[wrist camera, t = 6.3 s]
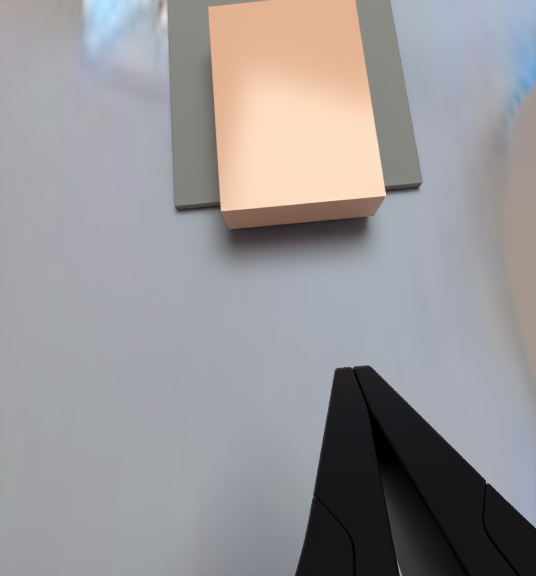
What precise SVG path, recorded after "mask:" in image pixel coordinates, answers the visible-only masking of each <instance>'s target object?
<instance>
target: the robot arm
mask: <svg viewBox="0 0 536 576" xmlns="http://www.w3.org/2000/svg"><path fill="white" fill-rule="evenodd" d="M396 558H397V559H396ZM397 561H398V564H399V567H400V570H401V573H402V576H536V528H535V527H534V526H533V525H532V524H531V523H530V522H528V521H527V520H526V519H525V518H524V517H523V516H522V515H521V514H520V513H519V512H518V511H517V510H516V509H515V508H514V507H513V506H512V505H511V504H510V503H508V502H507V501H506V500H505V499H504V498H503V497H502V496H501V495H500V494H499V493H498V492H497V491H496V490H495V489H494V488H493V487H492V486H491V485H490V484H488V483H487V484H486V480H485V479H484V478H483V477H482V476H481V475H480V474H479V473H478V472H477V471H476V470H475V469H474V468H473V467H472V466H471V465H470V464H469V463H468V462H467V461H466V460H465V459H464V458H463V457H462V456H461V455H460V454H459V453H458V452H457V451H456V450H455V449H454V448H453V447H452V446H451V445H450V444H449V443H448V442H447V441H446V440H445V439H444V438H443V437H442V436H441V435H439V434H438V433H437V432H436V431H435V430H434V429H433V428H432V427H431V426H430V425H429V424H428V423H427V422H426V421H425V420H424V419H423V418H422V417H421V416H420V415H419V414H418V413H417V412H416V411H415V410H414V409H413V408H412V407H411V406H410V405H409V404H408V403H407V402H406V401H405V400H404V399H403V398H402V397H401V396H400V395H399V394H398V393H397V392H396V391H395V390H394V389H393V388H392V387H391V386H390V385H389V384H388V383H387V382H386V381H385V380H384V379H383V378H382V377H381V376H380V375H379V374H378V373H377V372H376V371H375V370H374V369H373V368H372V367H370V366H368V365H366V366H355V367H353V369H352V368H351V367H344V368H337V369H335V373H334V378H333V384H332V390H331V396H330V401H329V407H328V413H327V419H326V424H325V430H324V436H323V442H322V448H321V453H320V459H319V465H318V471H317V476H316V482H315V488H314V494H313V499H312V504H311V510H310V516H309V521H308V525H307V530H306V535H305V540H304V544H303V548H302V552H301V555H300V559H299V563H298V566H297V570H296V573H295V576H400V575H399V570H398V564H397Z"/></svg>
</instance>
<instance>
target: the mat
mask: <svg viewBox="0 0 536 576" xmlns="http://www.w3.org/2000/svg"><path fill="white" fill-rule="evenodd" d="M258 1H267V0H168V20H169V48H170V76H171V104H172V132H173V160H174V188H175V206H176V208H177V209H187V208H198V207H209V206H219V205H221V204H220V188H219V172H218V156H217V140H216V124H215V108H214V92H213V76H212V60H211V44H210V28H209V12H208V7H211V6H220V5H230V4H239V3H248V2H258ZM355 1H356V8H357V14H358V20H359V27H360V33H361V39H362V46H363V52H364V58H365V65H366V71H367V77H368V84H369V90H370V97H371V103H372V109H373V116H374V122H375V128H376V135H377V141H378V147H379V154H380V160H381V166H382V173H383V179H384V186H385V190H389V189H400V188H410V187H419V186H420V185H421V184H422V183H423V182H422V176H421V170H420V165H419V159H418V154H417V148H416V142H415V137H414V131H413V126H412V120H411V115H410V109H409V103H408V98H407V92H406V87H405V81H404V75H403V70H402V64H401V59H400V53H399V47H398V42H397V36H396V31H395V25H394V19H393V14H392V8H391V3H390V0H355Z"/></svg>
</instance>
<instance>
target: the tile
mask: <svg viewBox="0 0 536 576" xmlns="http://www.w3.org/2000/svg"><path fill="white" fill-rule="evenodd" d="M208 12H209V28H210V44H211V60H212V76H213V92H214V108H215V124H216V140H217V156H218V172H219V188H220V204H221V213H222V215H223V218H224V220H225V222H226V225H227V227H228V229H238V228H249V227H259V226H270V225H281V224H292V223H302V222H313V221H324V220H334V219H345V218H356V217H367V216H374V214H375V212H376V211H377V209H378V208H379V206H380V205H381V203H382V202H383V200H384V198H385V197H386V192H385V186H384V179H383V173H382V166H381V160H380V154H379V147H378V141H377V135H376V128H375V122H374V116H373V109H372V103H371V97H370V90H369V84H368V77H367V71H366V65H365V58H364V52H363V46H362V39H361V33H360V27H359V20H358V14H357V8H356V1H355V0H267V1H258V2H248V3H239V4H230V5H220V6H211V7H208Z"/></svg>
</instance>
